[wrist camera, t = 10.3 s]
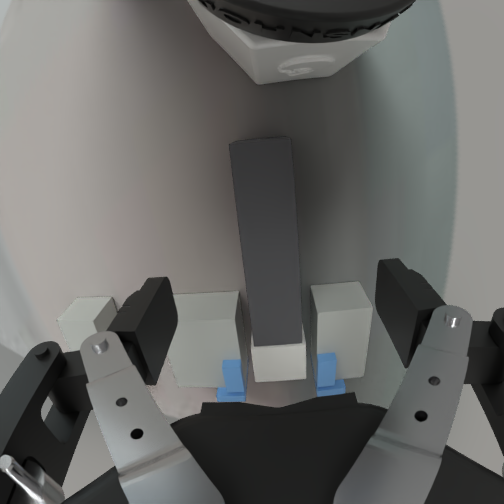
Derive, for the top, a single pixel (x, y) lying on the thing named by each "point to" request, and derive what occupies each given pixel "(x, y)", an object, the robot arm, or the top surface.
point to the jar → (296, 33)
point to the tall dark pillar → (270, 255)
